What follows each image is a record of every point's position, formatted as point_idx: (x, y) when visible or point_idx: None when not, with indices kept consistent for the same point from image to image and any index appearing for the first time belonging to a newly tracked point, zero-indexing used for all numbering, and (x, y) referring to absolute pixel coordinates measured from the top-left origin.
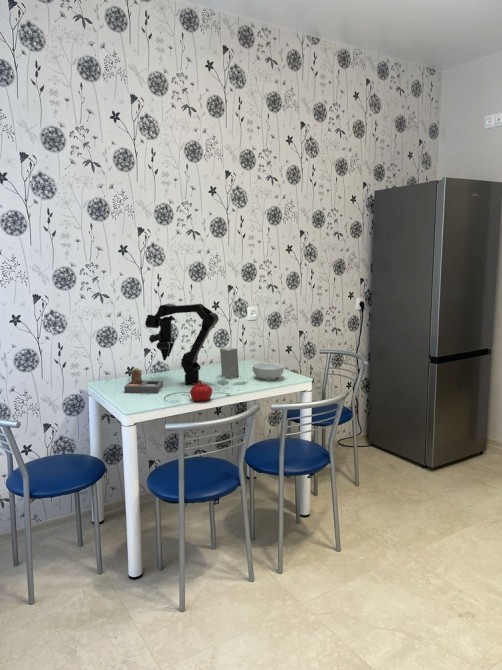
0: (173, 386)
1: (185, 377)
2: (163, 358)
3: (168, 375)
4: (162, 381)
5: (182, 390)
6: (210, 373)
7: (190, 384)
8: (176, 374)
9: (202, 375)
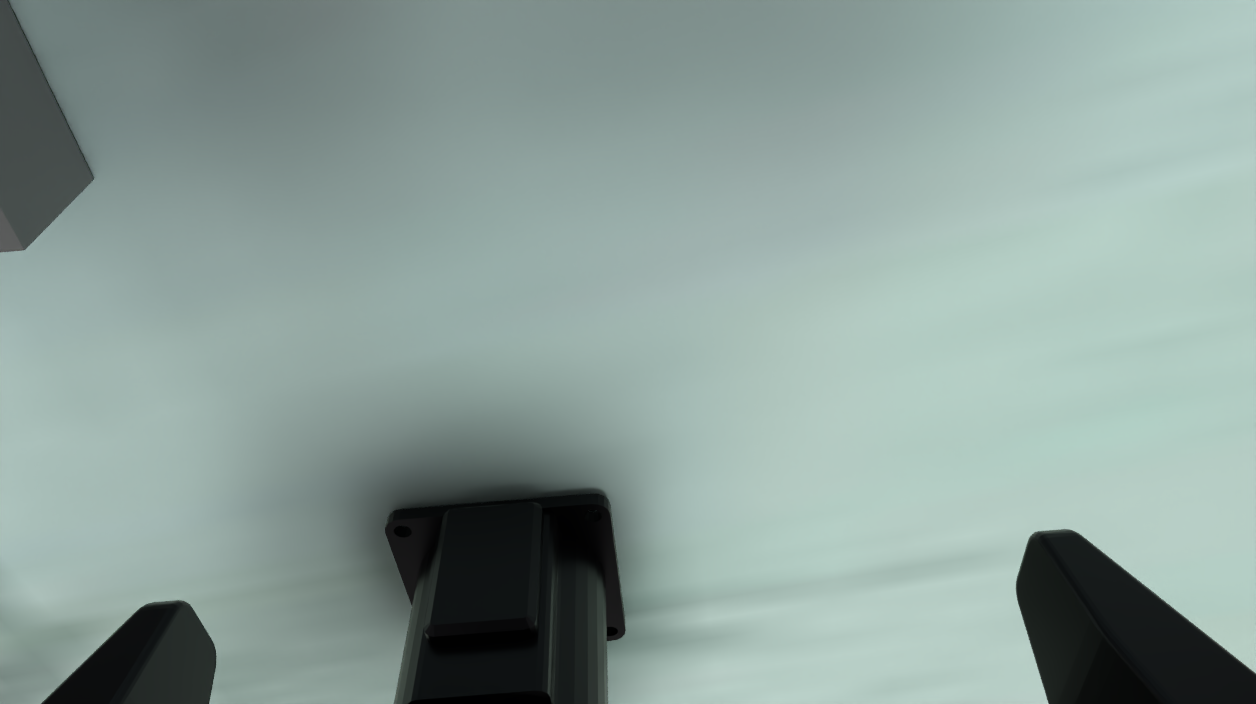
0: (207, 367)
1: (432, 593)
2: (76, 692)
3: (1143, 25)
4: (15, 243)
5: (44, 537)
6: None
7: (404, 571)
8: (1203, 189)
9: None
